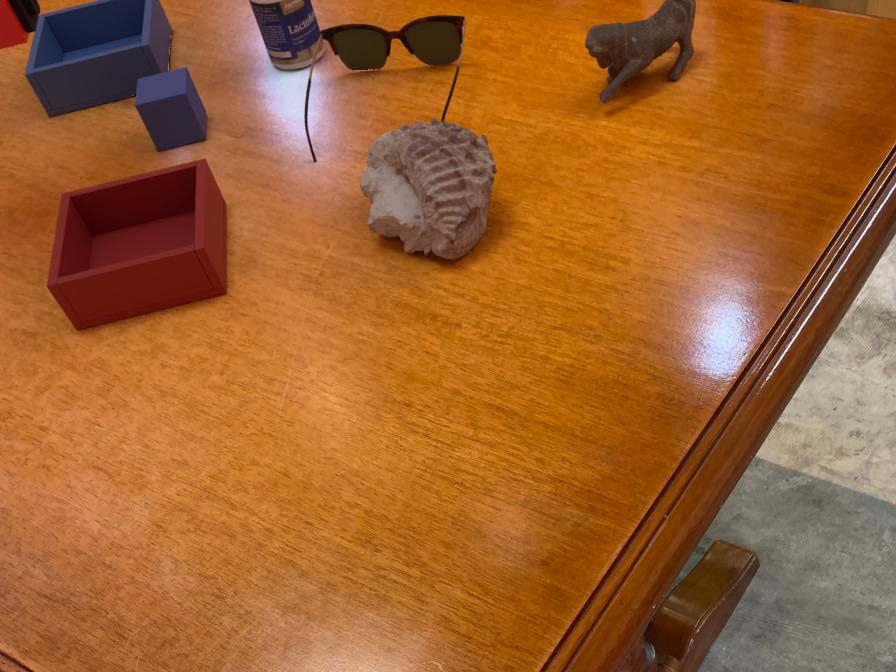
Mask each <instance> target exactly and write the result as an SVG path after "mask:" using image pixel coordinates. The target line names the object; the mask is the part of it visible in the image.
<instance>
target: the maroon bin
mask: <svg viewBox="0 0 896 672" xmlns="http://www.w3.org/2000/svg"><path fill="white" fill-rule="evenodd" d="M59 202H60V203H59V208H58V214H57V220H56V225H55V226H56V227H55V231H54V238H53V245H52V252H51V256H50V263H49V269H48V276H47V282H46V288H47V289H48V291H49V292H50V294H51V295H52V297H53V299H54V300H55V301H56V303H57V304H58V305H59V307H60V308H61V310H62V311H63V313H64V314H65V316H66V317H67V319H68V320H69V322H70V323H71V325H72V326H73V327H74V329H75V330H76V331H79V330H83V329H87V328H91V327H96V326H101V325H104V324H106V323H111V322H117V321H120V320H124V319H128V318H133V317H136V316H139V315H140V316H141V315H145V314H148V313H152V312H157V311H161V310H164V309H169V308H172V307H176V306H181V305H185V304H188V303H193V302H197V301H201V300H205V299H210V298H213V297H217V296H221V295H225V294H227V293H228V292H227V291H228V290H227V285H228V284H227V202H226V200H225V198H224V196H223V194H222V191H221V189H220V187H219V185H218V182H217V180H216V178H215V176H214V173H213V172H212V170H211V167H210V165H209V162H208V161H207V159H206V158H201V159H198V160H193V161H192V160H191V161H188V162H185V163H180V164H176V165H172V166H169V167H164V168H159V169H155V170H152V171H147V172H144V173H140V174H136V175H131V176H128V177H124V178H119V179H116V180H112V181H107V182H104V183H99V184H96V185H91V186H88V187H87V186H86V187H84V188H83V187H82V188H79V189H75V190H71V191H66V192H62V193H61V195H60V201H59Z"/></svg>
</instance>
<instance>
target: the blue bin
mask: <svg viewBox="0 0 896 672" xmlns="http://www.w3.org/2000/svg"><path fill="white" fill-rule="evenodd" d="M171 28H172V25H171V24H170V21H169V19H168V16H167V14H166V11H165V10H164V8H163V5H162V3H161V1H160V0H93V1H90V2H85V3H82V4H78V5H77V4H76V5H74V6H69V7H66V8H61V9H57V10H53V11H48V12H45V13H42V14H41V13H40V14H38V22H37V27H36V31H35V32H33V37H32V40H31V41H32V42H31V45H30V48H29V49H30V50H29V54H28V58H27V63H26V68H25V72H24V77H25V78H26V80H27V82H28V83H29V85H30V87H31V88H32V90H33V92H34V94H35V95H36V97H37V99H38V101H39V102H40V104H41V106H42V108H43V109H44V111H45V113H46V114H47V117H48V118H52V117H56V116H59V115H64V114H67V113H72V112H75V111H80V110H83V109H87V108H91V107H96V106H100V105H104V104H109V103H112V102H116V101H119V99H120V100H123V99H122V98H124V99H126V98H125V97H128V98H130V97H129V96H132V95H136V89H137V79H140V78H144V77H148V76H152V75H156V74H160V73H164V72H168V64H169V63H168V62H169V49H170V48H169V47H170V35H171ZM132 97H133V96H132ZM115 100H116V101H115Z"/></svg>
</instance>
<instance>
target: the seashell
mask: <svg viewBox="0 0 896 672" xmlns="http://www.w3.org/2000/svg"><path fill="white" fill-rule="evenodd" d="M429 120H430V122H428V123H426V122H423V121H421V120H414V122H413V124H411V125H409V124H406V123H403V124H401V125H399V126H398V127H397V128H396V129H395V130H393V129H390V130H388V131H386V132H384V133H382V134H380V135H379V136H378V137H376V138H374V140H373V141H372V142H371V143H370V145H369V147H368V150H367V151H368V152H367V155H366V164H367V168H366V167H365V169H363V170H362V171H361V177H360V185H359V186H360V191H361V193H362V195H363V196H364V197H366V198H368V199H369V202H370V205H371V207H370V208H369V215H368V218H367V222H366V223H367V226H368V229H369V231H370V232H371V233H372V234H375V235H383V236H384V237H389V238H396V237H397V238H398V237H399V239H400V240H401V241H402V242H403V244H404V246H403V249H404V252H405V253H410V254H414V252H423V253H424V256H427V255H428V254H429V253H431V252H432V253H433V254H434V255H435V256H437V257H439V258H441V259H448V260H454V261H455V260H457V259H458V258H461V257H465V256H466V255H467V254H468V253H469V252H470V251H471V250H472V248H474V246H475V245H476V244H477V243H478V242H479V240H480V239H481V238H482V237H483V236H484V234H485V233H486V230H487V223H488V222H487V221H488V211H489V208H490V205H491V194H492V192H493V185H494V183H495V174H497V173H498V171H497V166H496V163H495V162H494V156H493V153H492V151H491V149H490V147H489V139H488V138H487V136H486V135H485V134H481V136H479V135H478V134H475V133H474V131H472V130H470V129H469V128H467V127H463V126H461V125H459V124H456V123H451V122H448V121H446V120H443V121H442V122H441V121H439V120H437V119H436V118H432V117H429Z"/></svg>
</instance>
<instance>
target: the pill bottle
mask: <svg viewBox="0 0 896 672" xmlns="http://www.w3.org/2000/svg"><path fill="white" fill-rule="evenodd" d="M248 1H249V4H250V8H251V10H252V13H253V16H254V19H255V21H256V24H257V27H258V30H259V32H260V36H261V38H262V41H263V44H264V47H265V49H266V53H267V55H268V58H269V60H270V62H271V64H272V65H273V66H275V67H276V68H278V69H280V70H290V71H291V70H299V69H303V68H305V67H308V66H311V65H312V61H313V58H314V54H315V50H316V47H317V43H318V40H319V38H320V35H321V33H320V31H321V29H320V26H319V22H318V19H317V16H316V13H315V9H314V7H313V4H312V0H248ZM325 47H326V45H325V42H324V39H323V40H322V43H321V46H320V49H319V51H318V53H317V56H316V60H315V63H316V62H317V61H318V60H320V58H322V56H323V55H324V53H325Z"/></svg>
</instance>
